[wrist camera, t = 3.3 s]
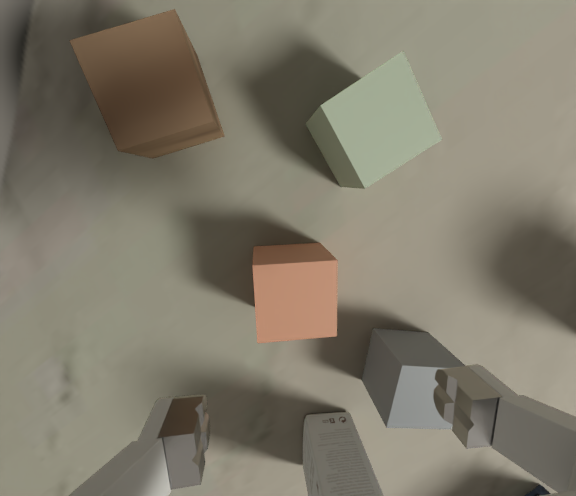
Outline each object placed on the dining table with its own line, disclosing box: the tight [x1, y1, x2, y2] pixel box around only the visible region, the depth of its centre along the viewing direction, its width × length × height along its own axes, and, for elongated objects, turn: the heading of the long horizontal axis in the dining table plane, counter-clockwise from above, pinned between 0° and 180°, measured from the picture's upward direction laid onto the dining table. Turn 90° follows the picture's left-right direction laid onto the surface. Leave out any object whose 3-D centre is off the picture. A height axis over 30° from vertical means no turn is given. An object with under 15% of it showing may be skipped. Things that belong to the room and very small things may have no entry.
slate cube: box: [362, 328, 465, 429], centre depth 22 cm, size 5×5×5 cm
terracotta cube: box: [252, 243, 338, 343], centre depth 19 cm, size 5×5×5 cm
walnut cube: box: [69, 9, 224, 158], centre depth 16 cm, size 5×5×5 cm
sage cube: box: [306, 51, 442, 189], centre depth 18 cm, size 5×5×5 cm
